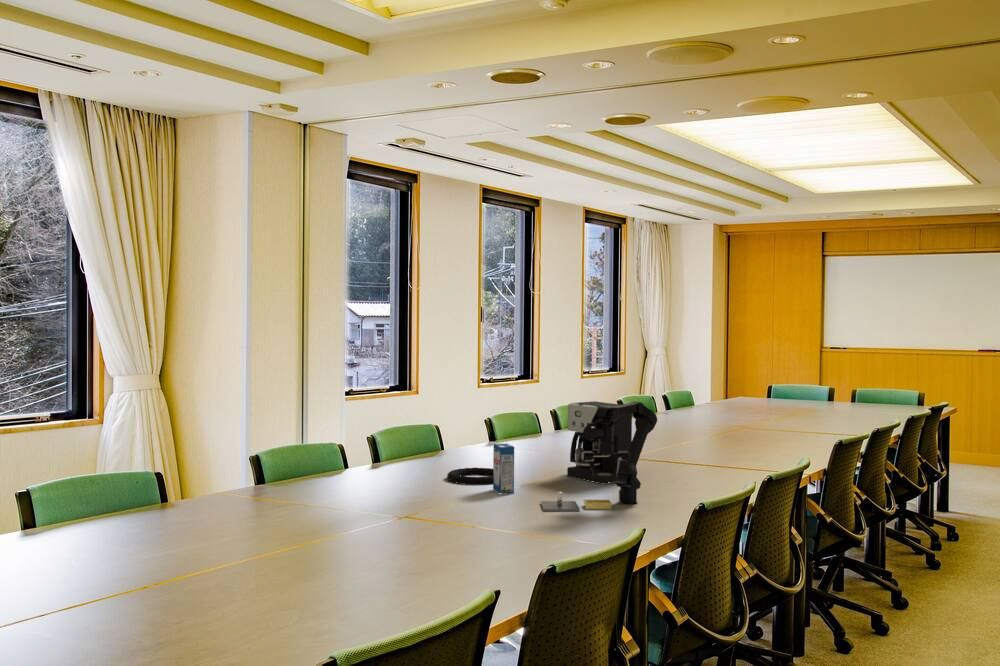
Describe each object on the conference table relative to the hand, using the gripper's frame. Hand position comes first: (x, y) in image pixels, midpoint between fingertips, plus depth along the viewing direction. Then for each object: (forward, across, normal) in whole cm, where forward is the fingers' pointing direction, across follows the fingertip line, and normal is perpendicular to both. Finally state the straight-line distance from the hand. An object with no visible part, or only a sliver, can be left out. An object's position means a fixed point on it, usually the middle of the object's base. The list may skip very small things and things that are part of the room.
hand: (605, 477), depth 342 cm
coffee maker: (+13, -5, -63) cm, 65 cm away
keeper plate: (+12, +18, +1) cm, 22 cm away
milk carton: (+12, +40, -30) cm, 51 cm away
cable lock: (+12, +50, -58) cm, 77 cm away
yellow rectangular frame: (+12, +4, +1) cm, 12 cm away
